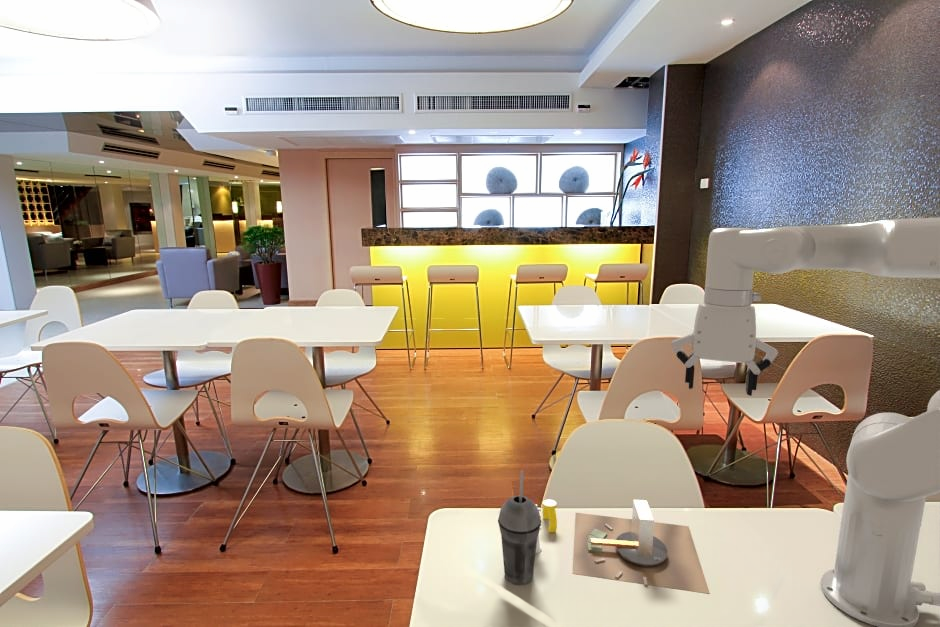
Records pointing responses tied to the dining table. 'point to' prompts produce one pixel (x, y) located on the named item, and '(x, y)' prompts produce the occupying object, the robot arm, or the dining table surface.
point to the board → (606, 563)
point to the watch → (550, 514)
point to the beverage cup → (519, 537)
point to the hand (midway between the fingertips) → (719, 389)
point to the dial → (638, 539)
